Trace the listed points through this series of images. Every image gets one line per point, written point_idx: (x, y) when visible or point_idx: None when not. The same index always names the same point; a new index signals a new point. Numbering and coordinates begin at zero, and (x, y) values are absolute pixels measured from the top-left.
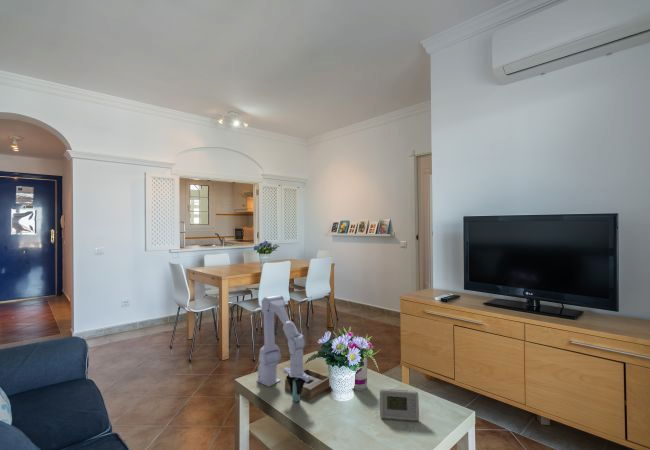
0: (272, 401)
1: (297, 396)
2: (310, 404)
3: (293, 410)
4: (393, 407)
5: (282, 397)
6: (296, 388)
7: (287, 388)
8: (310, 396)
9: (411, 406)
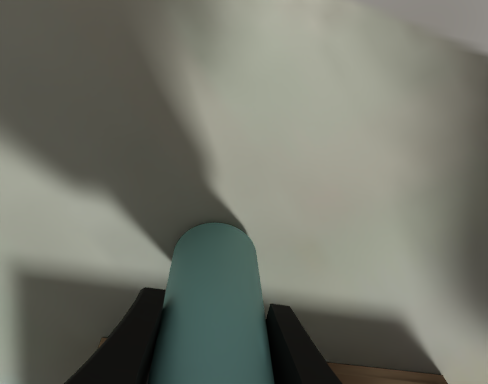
0: (473, 116)
1: (173, 278)
2: (29, 268)
3: (112, 66)
4: None
5: (393, 240)
6: (167, 360)
7: (414, 379)
8: None
9: None
